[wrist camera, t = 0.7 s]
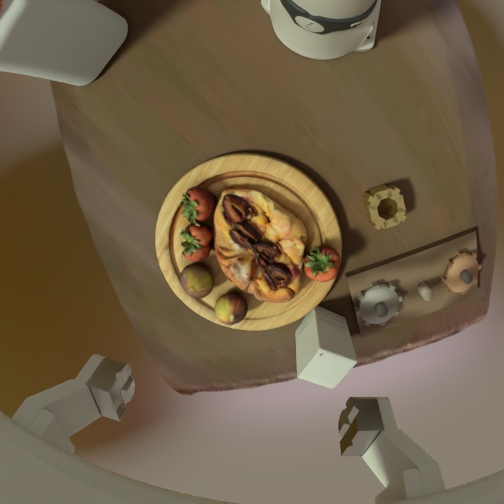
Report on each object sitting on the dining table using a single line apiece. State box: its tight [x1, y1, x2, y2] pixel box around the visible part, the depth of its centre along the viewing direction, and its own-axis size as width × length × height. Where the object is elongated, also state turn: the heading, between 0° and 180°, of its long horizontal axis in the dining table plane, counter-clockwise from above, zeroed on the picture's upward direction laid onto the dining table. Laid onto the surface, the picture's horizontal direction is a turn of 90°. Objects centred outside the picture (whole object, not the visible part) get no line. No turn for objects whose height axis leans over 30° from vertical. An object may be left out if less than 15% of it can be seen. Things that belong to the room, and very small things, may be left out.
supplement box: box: [295, 306, 357, 389], centre depth 49 cm, size 7×7×13 cm
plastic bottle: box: [0, 0, 128, 86], centre depth 25 cm, size 15×15×28 cm
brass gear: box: [362, 184, 406, 230], centre depth 44 cm, size 6×6×3 cm
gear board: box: [345, 228, 481, 338], centre depth 47 cm, size 14×27×5 cm, turn 112°
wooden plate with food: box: [155, 152, 342, 331], centre depth 47 cm, size 32×32×8 cm
